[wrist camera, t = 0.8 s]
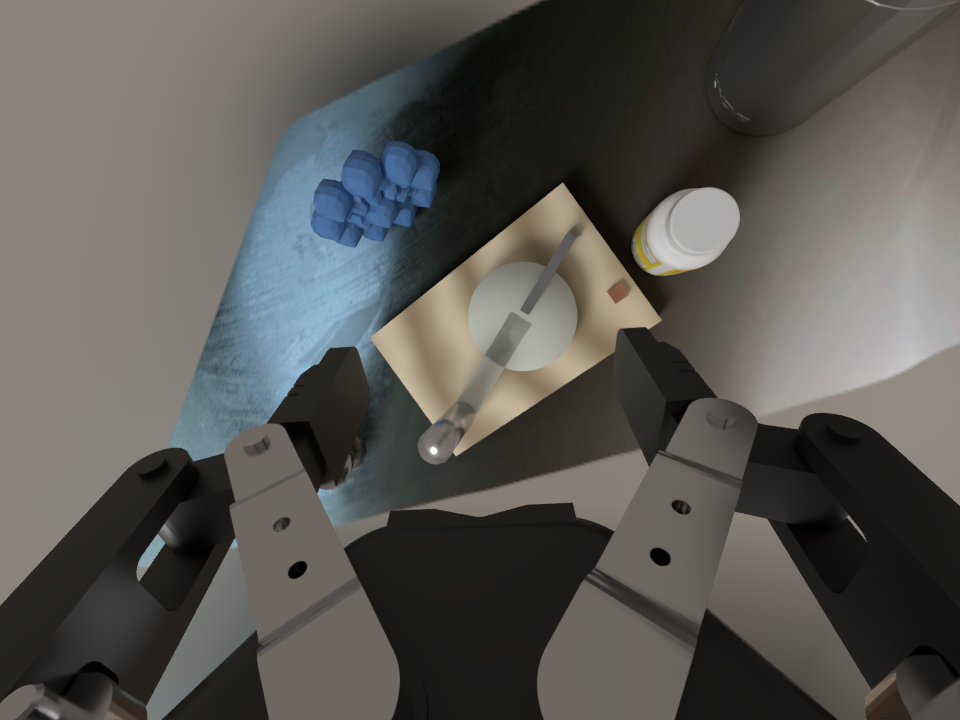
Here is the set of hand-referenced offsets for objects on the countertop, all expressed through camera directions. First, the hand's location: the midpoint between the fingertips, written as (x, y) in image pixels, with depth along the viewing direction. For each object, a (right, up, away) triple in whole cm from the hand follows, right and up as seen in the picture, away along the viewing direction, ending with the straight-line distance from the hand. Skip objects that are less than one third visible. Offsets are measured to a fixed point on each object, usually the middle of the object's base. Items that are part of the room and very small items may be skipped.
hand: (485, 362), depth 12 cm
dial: (+3, +2, +23) cm, 23 cm away
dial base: (+3, +3, +25) cm, 25 cm away
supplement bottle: (+15, +10, +22) cm, 28 cm away
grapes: (-8, +15, +25) cm, 30 cm away
